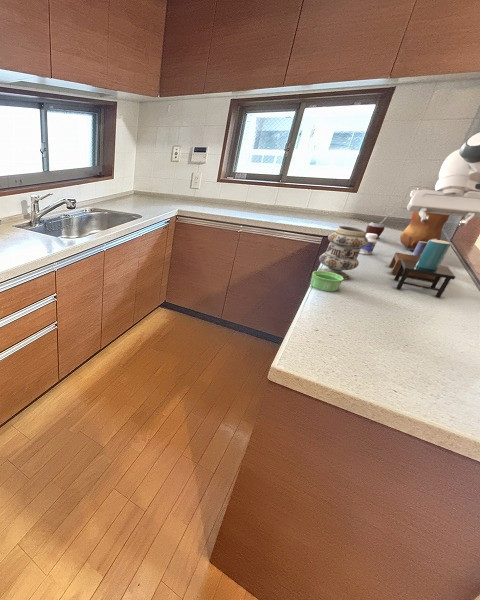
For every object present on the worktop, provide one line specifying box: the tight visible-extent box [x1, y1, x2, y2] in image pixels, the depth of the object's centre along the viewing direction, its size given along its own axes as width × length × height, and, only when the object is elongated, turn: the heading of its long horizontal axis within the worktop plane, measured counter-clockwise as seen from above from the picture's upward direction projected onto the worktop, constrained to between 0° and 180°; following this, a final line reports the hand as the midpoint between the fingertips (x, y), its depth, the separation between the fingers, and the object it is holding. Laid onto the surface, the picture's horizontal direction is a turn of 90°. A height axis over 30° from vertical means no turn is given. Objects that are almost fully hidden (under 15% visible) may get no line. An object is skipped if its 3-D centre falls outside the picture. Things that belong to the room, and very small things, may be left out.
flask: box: [411, 239, 437, 256], centre depth 137 cm, size 9×3×11 cm, turn 58°
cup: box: [416, 239, 452, 270], centre depth 109 cm, size 5×5×9 cm
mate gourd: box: [365, 211, 397, 240], centre depth 171 cm, size 8×8×15 cm
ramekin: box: [310, 270, 345, 292], centre depth 113 cm, size 9×9×4 cm
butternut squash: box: [399, 211, 450, 252], centre depth 150 cm, size 14×13×25 cm
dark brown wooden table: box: [393, 259, 456, 299], centre depth 113 cm, size 12×12×8 cm
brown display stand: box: [388, 252, 436, 283], centre depth 126 cm, size 12×12×6 cm
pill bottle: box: [359, 233, 378, 255], centre depth 149 cm, size 5×5×9 cm
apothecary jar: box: [317, 225, 368, 280], centre depth 121 cm, size 12×12×18 cm
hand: (442, 223), depth 111 cm, fingers open, 8 cm apart
